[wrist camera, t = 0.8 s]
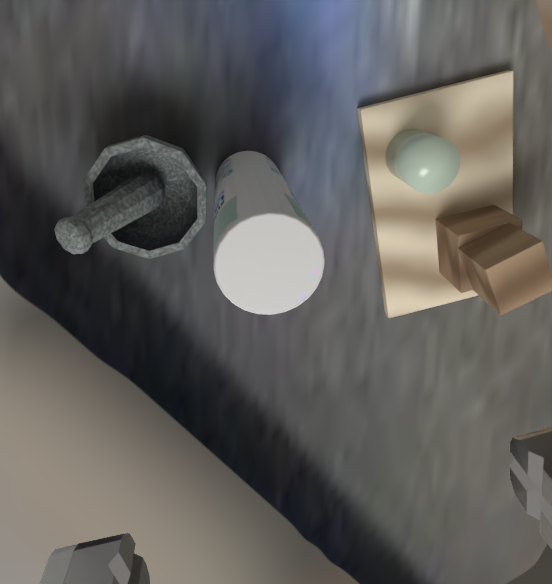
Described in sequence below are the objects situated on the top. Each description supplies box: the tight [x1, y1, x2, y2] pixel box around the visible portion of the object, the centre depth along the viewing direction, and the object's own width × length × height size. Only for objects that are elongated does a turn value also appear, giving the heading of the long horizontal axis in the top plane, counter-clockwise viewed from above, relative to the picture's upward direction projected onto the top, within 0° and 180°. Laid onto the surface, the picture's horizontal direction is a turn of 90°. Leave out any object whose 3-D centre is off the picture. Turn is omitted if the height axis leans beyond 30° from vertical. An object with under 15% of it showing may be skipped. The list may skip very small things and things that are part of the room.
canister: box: [385, 129, 460, 194], centre depth 43 cm, size 5×5×6 cm
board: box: [357, 71, 513, 318], centre depth 48 cm, size 22×14×1 cm, turn 13°
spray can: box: [214, 151, 325, 315], centre depth 37 cm, size 6×6×20 cm
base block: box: [435, 205, 522, 293], centre depth 47 cm, size 6×6×5 cm
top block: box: [458, 223, 552, 315], centre depth 43 cm, size 5×5×5 cm
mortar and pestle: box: [54, 135, 206, 259], centre depth 39 cm, size 11×9×12 cm
